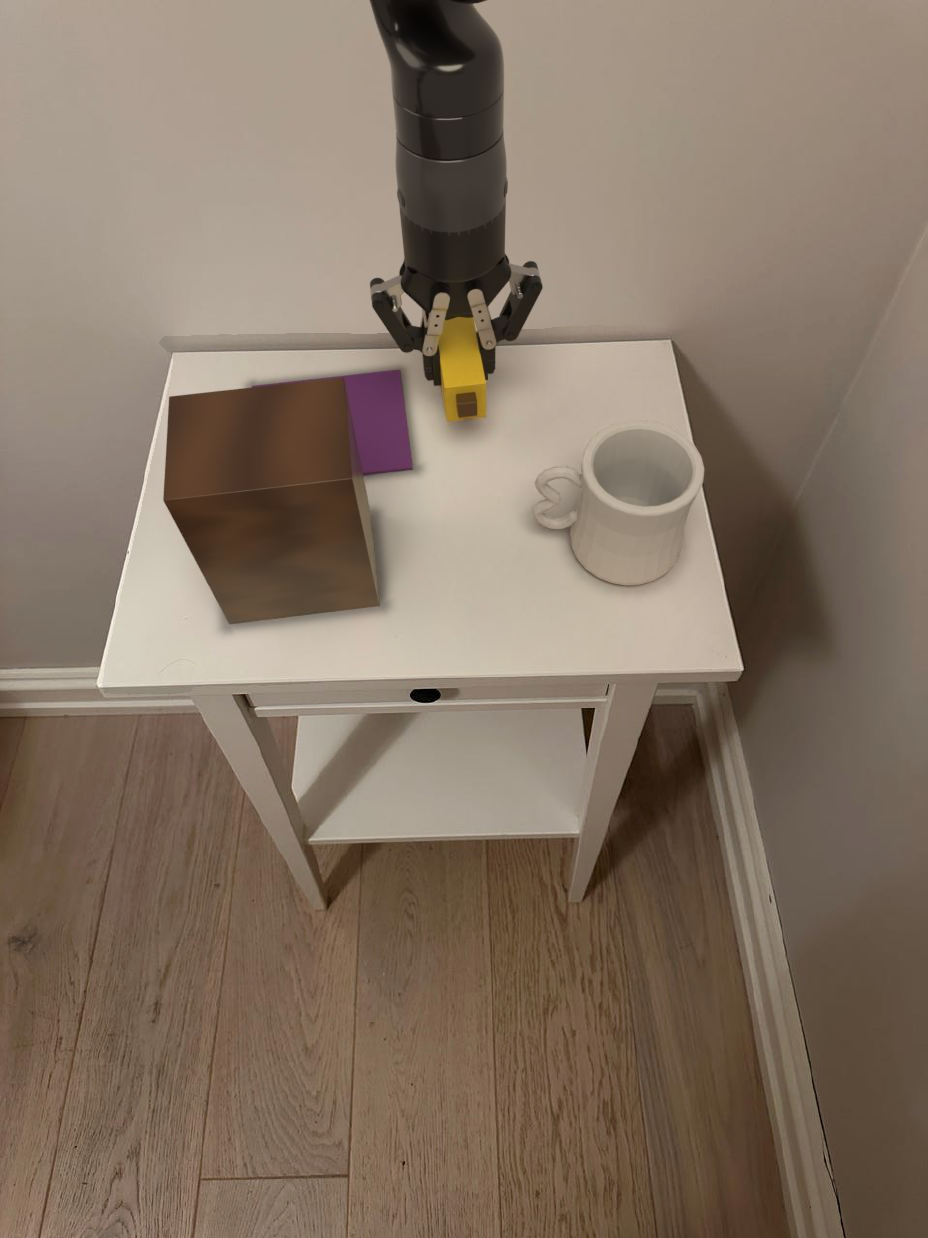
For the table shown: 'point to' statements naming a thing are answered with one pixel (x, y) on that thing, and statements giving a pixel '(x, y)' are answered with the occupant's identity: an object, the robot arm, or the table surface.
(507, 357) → the table surface
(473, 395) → the yellow brick
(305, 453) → the block
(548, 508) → the mug
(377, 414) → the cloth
